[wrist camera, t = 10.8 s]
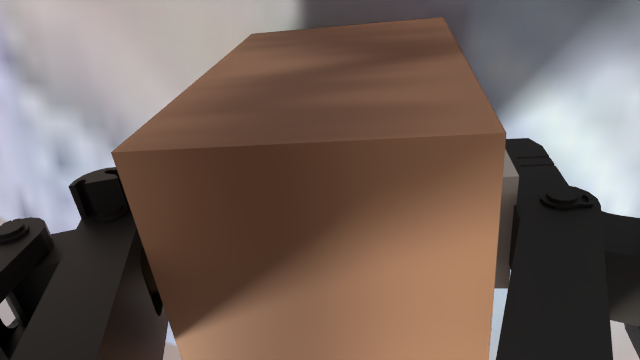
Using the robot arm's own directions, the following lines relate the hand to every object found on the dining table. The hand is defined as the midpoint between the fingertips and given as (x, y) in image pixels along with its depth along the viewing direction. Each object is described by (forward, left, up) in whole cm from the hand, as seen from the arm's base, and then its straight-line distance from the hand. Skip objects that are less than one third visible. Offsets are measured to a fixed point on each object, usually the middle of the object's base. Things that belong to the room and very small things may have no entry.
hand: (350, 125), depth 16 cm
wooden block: (0, 0, -1) cm, 1 cm away
